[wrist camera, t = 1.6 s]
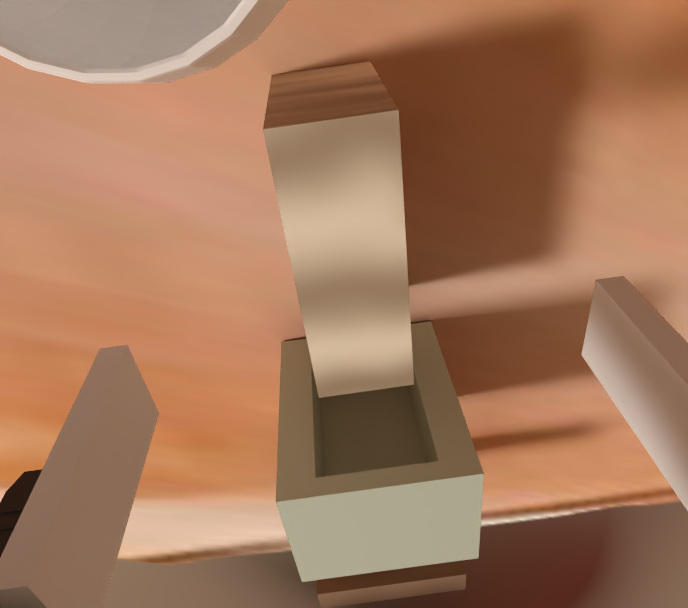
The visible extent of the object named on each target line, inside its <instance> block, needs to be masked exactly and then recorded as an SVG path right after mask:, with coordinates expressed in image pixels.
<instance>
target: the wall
mask: <svg viewBox="0 0 688 608" xmlns="http://www.w3.org/2000/svg"><path fill="white" fill-rule="evenodd" d="M465 588H466V572H465V569H464V565H463V561H462V560H461V561H453V562H446V563H439V564H431V565H424V566H416V567H409V568H402V569H394V570H387V571H379V572H372V573H365V574H357V575H350V576H343V577H335V578H328V579H320V580H317V596H318V599H319V603H320V606H321V608H329V607H337V606H344V605H351V604H358V603H366V602H374V601H381V600H389V599H396V598H403V597H411V596H418V595H426V594H433V593H440V592H447V591H455V590H462V589H465Z"/></svg>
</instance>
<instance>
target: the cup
mask: <svg viewBox="0 0 688 608" xmlns="http://www.w3.org/2000/svg"><path fill="white" fill-rule="evenodd" d="M287 2H288V0H0V55H1V56H3V57H5V58H7V59H9V60H12V61H14V62H16V63H18V64H20V65H22V66H24V67H26V68H28V69H30V70H34V71H39V72H43V73H47V74H51V75H55V76H60V77H64V78H68V79H72V80H76V81H80V82H85V83H117V84H119V83H169V82H172V81H176V80H179V79H182V78H185V77H188V76H191V75H195V74H198V73H201V72H204V71H207V70H210V69H214V68H216V67H218V66H219V65H221V64H222V63H223V62H225V61H226V60H228V59H229V58H231V57H232V56H234V55H235V54H237V53H238V52H239V51H241V50H242V49H244V48H245V47H247V46H248V45H250V44H251V43H253V42H254V41H255V40H257V39H258V37H259V36H260V35H261V34H262V32H263V31H264V30H265V29H266V28H267V26H268V25H269V24H270V23H271V21H272V20H273V19H274V18H275V16H276V15H277V14H278V13H279V12H280V10H281V9H282V8H283V7H284V5H285V4H286V3H287Z"/></svg>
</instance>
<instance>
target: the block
mask: <svg viewBox="0 0 688 608" xmlns="http://www.w3.org/2000/svg"><path fill="white" fill-rule="evenodd" d="M411 339H412V357H413V375H414V385H407V386H400V387H393V388H386V389H378V390H371V391H364V392H357V393H350V394H343V395H336V396H329V397H321V398H319V396H318V391H317V386H316V382H315V377H314V372H313V367H312V362H311V357H310V353H309V348H308V343H307V338H306V339H299V340H292V341H284V342H281V371H280V399H279V428H278V457H277V485H276V504H277V507H278V510H279V513H280V516H281V519H282V522H283V525H284V528H285V531H286V534H287V537H288V540H289V544H290V547H291V550H292V553H293V556H294V559H295V562H296V565H297V568H298V571H299V574H300V577H301V580H302V582H305V581H312V580H320V579H328V578H335V577H343V576H350V575H357V574H365V573H372V572H379V571H387V570H394V569H402V568H409V567H416V566H424V565H431V564H439V563H446V562H453V561H461V560H468V559H475V558H478V556H479V540H480V525H481V509H482V494H483V478H484V473H483V470H482V467H481V464H480V461H479V458H478V456H477V453H476V450H475V447H474V444H473V441H472V438H471V435H470V433H469V430H468V427H467V424H466V421H465V418H464V415H463V412H462V409H461V407H460V404H459V401H458V398H457V395H456V392H455V389H454V386H453V384H452V381H451V378H450V375H449V372H448V369H447V366H446V363H445V360H444V358H443V355H442V352H441V349H440V346H439V343H438V340H437V337H436V334H435V332H434V329H433V326H432V323H431V321H428V322H421V323H414V324H411Z"/></svg>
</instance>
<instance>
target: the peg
mask: <svg viewBox="0 0 688 608" xmlns="http://www.w3.org/2000/svg"><path fill="white" fill-rule="evenodd" d="M263 131H264V136H265V141H266V146H267V151H268V155H269V160H270V165H271V170H272V175H273V180H274V184H275V189H276V194H277V199H278V204H279V208H280V213H281V218H282V223H283V228H284V232H285V237H286V242H287V247H288V252H289V256H290V261H291V266H292V271H293V276H294V281H295V285H296V290H297V295H298V300H299V305H300V309H301V314H302V319H303V324H304V329H305V333H306V338H307V343H308V348H309V353H310V357H311V362H312V367H313V372H314V377H315V382H316V386H317V391H318V396H319V398H321V397H329V396H336V395H343V394H350V393H357V392H364V391H371V390H378V389H386V388H393V387H400V386H407V385H414V375H413V357H412V339H411V321H410V303H409V285H408V267H407V250H406V232H405V214H404V196H403V178H402V160H401V142H400V124H399V110H398V108H397V106H396V104H395V103H394V101H393V99H392V98H391V96H390V94H389V92H388V91H387V89H386V87H385V86H384V84H383V82H382V80H381V79H380V77H379V75H378V74H377V72H376V70H375V68H374V67H373V65H372V63H371V62H370V61H367V62H360V63H353V64H346V65H340V66H333V67H326V68H319V69H312V70H305V71H298V72H291V73H284V74H277V75H272V77H271V83H270V90H269V96H268V102H267V108H266V114H265V121H264V127H263Z"/></svg>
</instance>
